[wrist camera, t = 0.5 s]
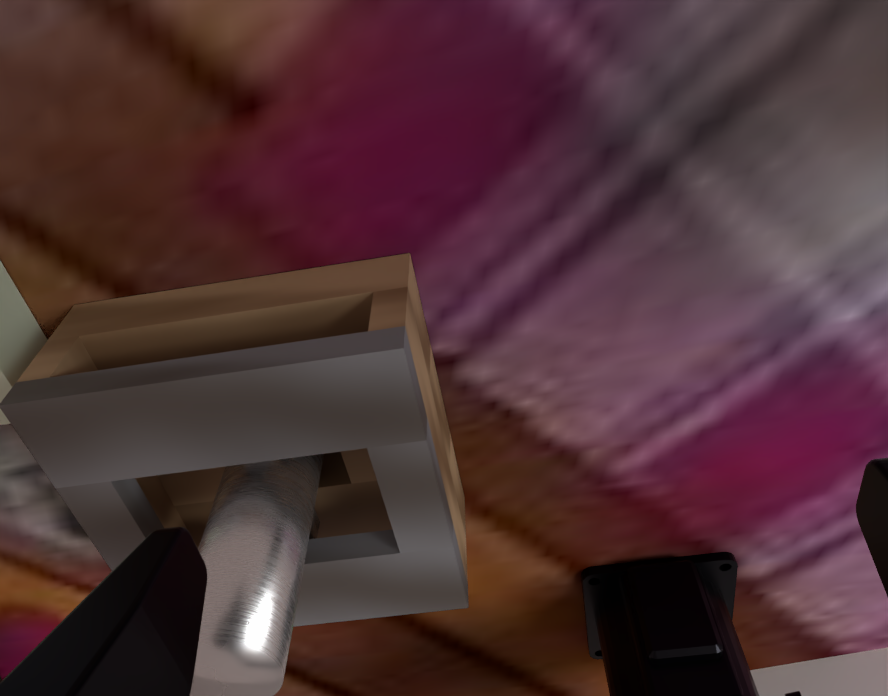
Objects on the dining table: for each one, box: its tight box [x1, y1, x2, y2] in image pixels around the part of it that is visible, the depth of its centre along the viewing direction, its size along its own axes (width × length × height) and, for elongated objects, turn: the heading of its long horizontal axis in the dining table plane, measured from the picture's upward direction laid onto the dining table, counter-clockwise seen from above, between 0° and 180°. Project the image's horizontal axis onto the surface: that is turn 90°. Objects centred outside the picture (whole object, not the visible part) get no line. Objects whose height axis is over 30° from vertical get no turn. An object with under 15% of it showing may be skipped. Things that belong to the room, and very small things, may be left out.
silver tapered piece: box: [190, 454, 324, 696], centre depth 22 cm, size 6×3×10 cm, turn 10°
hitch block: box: [0, 253, 468, 627], centre depth 24 cm, size 11×11×5 cm
